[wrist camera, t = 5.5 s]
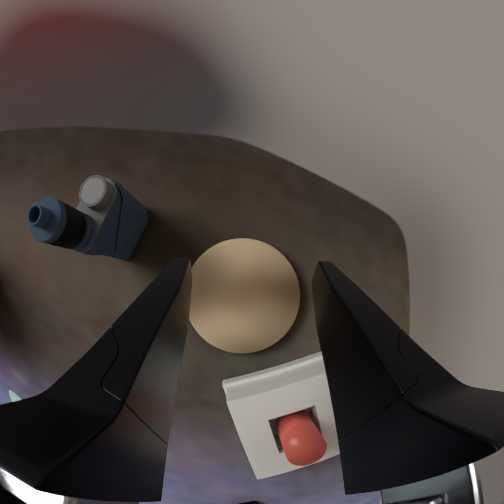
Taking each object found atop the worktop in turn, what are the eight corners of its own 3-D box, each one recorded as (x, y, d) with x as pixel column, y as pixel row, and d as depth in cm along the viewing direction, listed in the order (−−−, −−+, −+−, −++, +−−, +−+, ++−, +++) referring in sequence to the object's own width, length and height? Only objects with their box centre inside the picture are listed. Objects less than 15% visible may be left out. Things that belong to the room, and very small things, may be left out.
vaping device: (104, 253, 21) (11, 227, 9) (132, 200, 22) (60, 134, 10) (127, 267, 21) (38, 250, 9) (155, 212, 22) (91, 147, 10)
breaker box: (341, 429, 21) (357, 448, 17) (251, 457, 20) (254, 482, 16) (324, 349, 22) (342, 362, 18) (222, 380, 21) (220, 399, 17)
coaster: (308, 332, 22) (311, 334, 21) (204, 361, 21) (202, 365, 20) (280, 228, 23) (282, 226, 22) (174, 256, 22) (171, 254, 21)
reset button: (312, 429, 18) (329, 457, 14) (280, 439, 18) (290, 470, 14) (306, 403, 19) (323, 429, 14) (271, 414, 18) (281, 443, 14)
